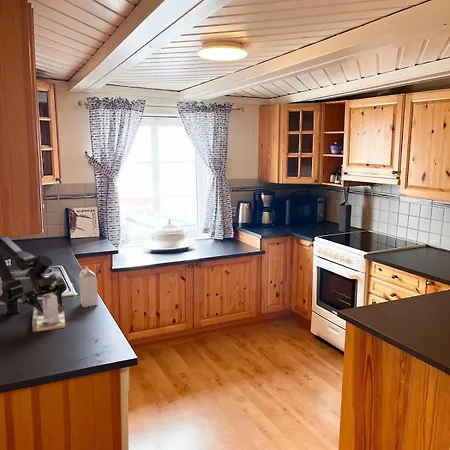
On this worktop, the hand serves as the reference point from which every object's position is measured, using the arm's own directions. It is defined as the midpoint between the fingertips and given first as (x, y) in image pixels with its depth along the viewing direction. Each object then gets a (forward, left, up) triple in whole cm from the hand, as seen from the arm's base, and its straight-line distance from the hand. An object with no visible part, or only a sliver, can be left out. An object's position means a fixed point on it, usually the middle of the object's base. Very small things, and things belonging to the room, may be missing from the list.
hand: (52, 308), depth 198 cm
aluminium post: (-1, -1, -7) cm, 7 cm away
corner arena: (-6, -2, -8) cm, 10 cm away
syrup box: (-28, -1, -8) cm, 29 cm away
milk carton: (-22, +17, -8) cm, 29 cm away
